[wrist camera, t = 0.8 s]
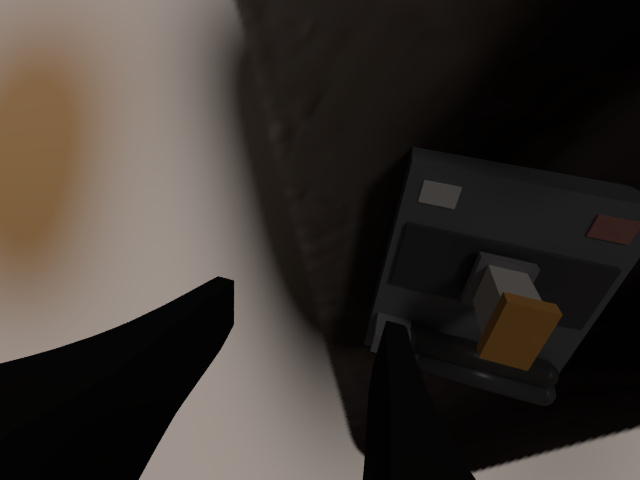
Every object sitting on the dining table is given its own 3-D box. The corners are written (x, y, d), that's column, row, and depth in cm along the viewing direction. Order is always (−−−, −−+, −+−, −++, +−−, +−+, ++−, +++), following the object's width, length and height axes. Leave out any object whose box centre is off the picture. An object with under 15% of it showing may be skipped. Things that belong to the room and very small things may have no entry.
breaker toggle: (537, 262, 15) (572, 317, 11) (511, 311, 16) (536, 373, 13) (480, 249, 15) (498, 299, 12) (459, 298, 16) (470, 355, 13)
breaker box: (629, 185, 16) (707, 229, 12) (528, 353, 21) (556, 424, 17) (412, 146, 17) (412, 172, 13) (369, 311, 23) (359, 368, 18)
